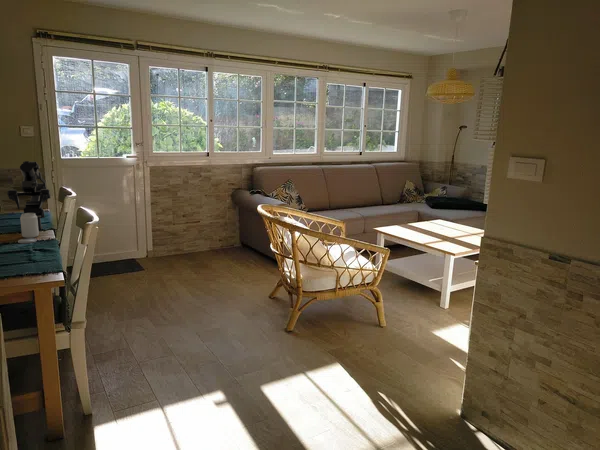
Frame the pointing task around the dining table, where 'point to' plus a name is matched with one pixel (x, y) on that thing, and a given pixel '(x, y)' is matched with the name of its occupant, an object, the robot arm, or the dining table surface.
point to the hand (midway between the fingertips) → (29, 208)
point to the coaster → (27, 240)
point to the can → (29, 225)
